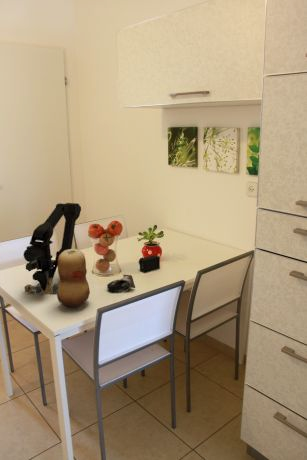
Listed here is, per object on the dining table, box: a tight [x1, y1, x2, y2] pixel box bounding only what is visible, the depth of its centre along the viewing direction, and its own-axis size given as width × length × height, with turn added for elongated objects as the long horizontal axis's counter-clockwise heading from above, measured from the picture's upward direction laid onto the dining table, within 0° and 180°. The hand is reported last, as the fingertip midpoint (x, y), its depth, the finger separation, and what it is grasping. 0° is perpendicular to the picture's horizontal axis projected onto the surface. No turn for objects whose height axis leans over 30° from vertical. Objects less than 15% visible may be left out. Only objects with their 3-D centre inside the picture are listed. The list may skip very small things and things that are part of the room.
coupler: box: [41, 278, 54, 295], centre depth 182 cm, size 4×4×6 cm
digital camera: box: [138, 254, 161, 274], centre depth 208 cm, size 10×5×7 cm, turn 127°
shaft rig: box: [23, 282, 60, 295], centre depth 182 cm, size 22×4×4 cm, turn 87°
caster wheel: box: [106, 274, 136, 293], centre depth 183 cm, size 7×11×10 cm
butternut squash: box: [56, 248, 91, 308], centre depth 165 cm, size 14×13×25 cm
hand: (47, 286), depth 182 cm, fingers open, 9 cm apart
